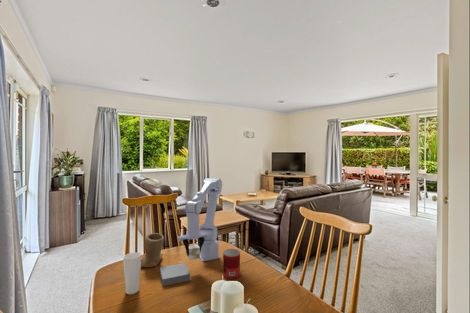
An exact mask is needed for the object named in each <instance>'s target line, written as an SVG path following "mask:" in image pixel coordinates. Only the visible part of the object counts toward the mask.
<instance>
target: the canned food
mask: <svg viewBox="0 0 470 313" xmlns="http://www.w3.org/2000/svg"><path fill="white" fill-rule="evenodd" d="M222 257H223V258H222V264H223V265H222V268H223V270H222V272H223V274H222V275H223V277H224V278H226V279H229V280H235V279H237V278H239V277H240V274H241V251H240V250H239V249H236V248H229V249H226V250H224V251H223V252H222Z"/></svg>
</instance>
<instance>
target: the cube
mask: <svg viewBox="0 0 470 313" xmlns="http://www.w3.org/2000/svg"><path fill="white" fill-rule="evenodd" d="M200 255H201V252H200V247H199V246H198V243H197V244H189V256H187V259H188V260H189V261H191V260H196V259H198V260H199V259H200Z"/></svg>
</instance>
